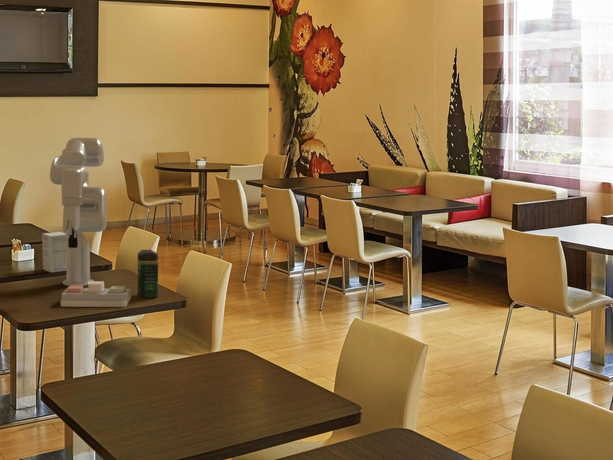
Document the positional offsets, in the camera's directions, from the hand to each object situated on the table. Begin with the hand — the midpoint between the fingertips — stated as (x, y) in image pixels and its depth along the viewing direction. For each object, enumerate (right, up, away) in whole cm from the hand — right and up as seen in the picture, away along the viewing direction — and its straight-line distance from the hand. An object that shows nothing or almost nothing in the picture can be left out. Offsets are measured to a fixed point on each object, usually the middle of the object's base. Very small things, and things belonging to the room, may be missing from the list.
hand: (73, 247), depth 319 cm
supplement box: (-24, -12, +58) cm, 64 cm away
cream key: (+10, -17, -3) cm, 20 cm away
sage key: (+18, -19, -2) cm, 26 cm away
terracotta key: (+2, -19, -3) cm, 19 cm away
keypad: (+10, -21, -3) cm, 24 cm away
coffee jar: (+27, -20, +10) cm, 35 cm away
